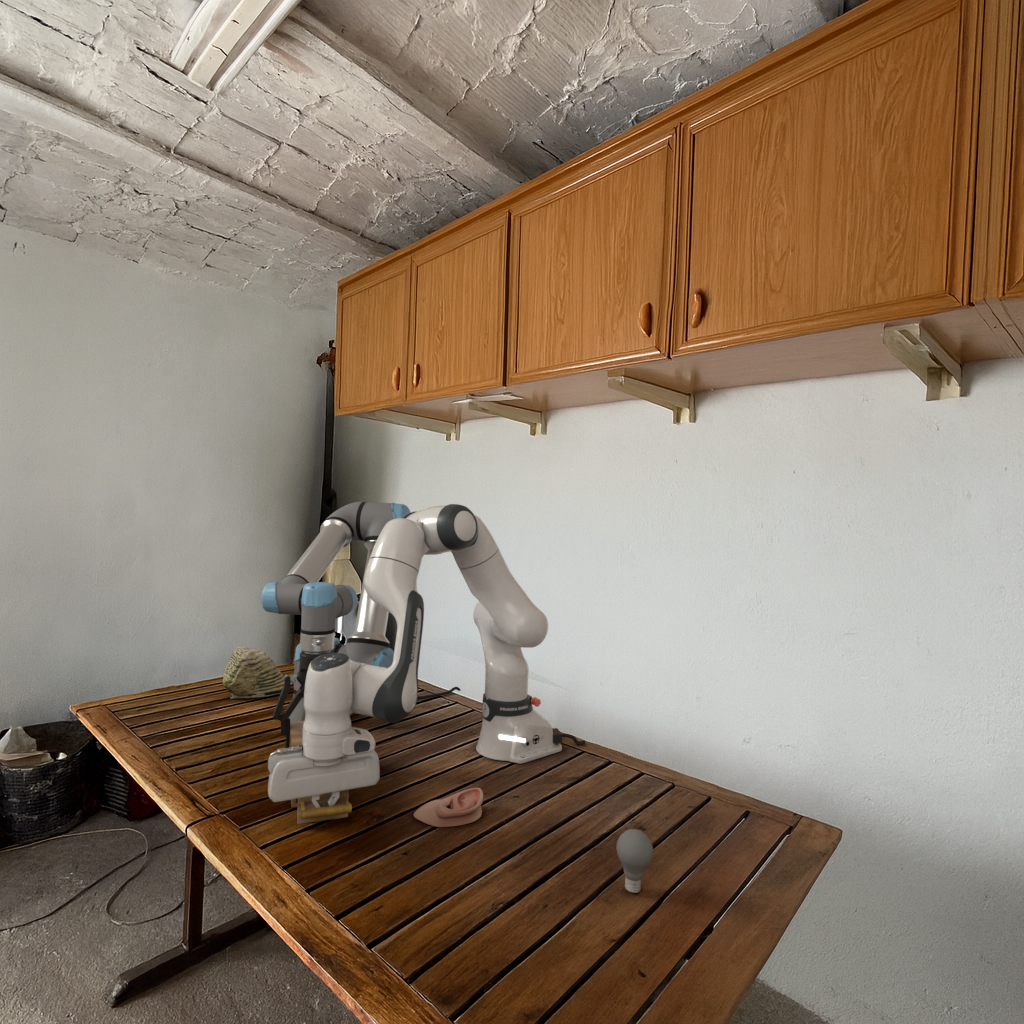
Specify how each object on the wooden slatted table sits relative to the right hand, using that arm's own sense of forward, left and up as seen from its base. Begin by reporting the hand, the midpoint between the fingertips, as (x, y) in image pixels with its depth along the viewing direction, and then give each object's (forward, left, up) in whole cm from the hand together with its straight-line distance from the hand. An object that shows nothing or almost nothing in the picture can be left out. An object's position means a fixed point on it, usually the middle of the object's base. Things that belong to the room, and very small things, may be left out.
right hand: (323, 814), depth 120 cm
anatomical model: (-24, +4, -4) cm, 25 cm away
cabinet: (-3, -21, -4) cm, 22 cm away
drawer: (-1, -9, -3) cm, 10 cm away
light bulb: (-42, +40, -4) cm, 58 cm away
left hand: (-4, -27, +2) cm, 28 cm away
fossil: (+1, -90, -4) cm, 90 cm away
